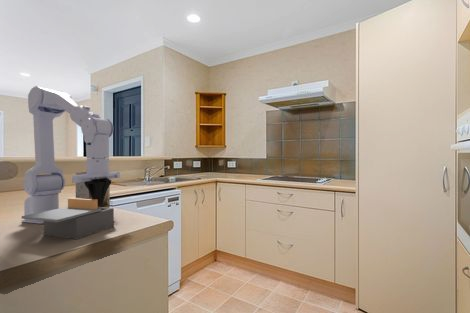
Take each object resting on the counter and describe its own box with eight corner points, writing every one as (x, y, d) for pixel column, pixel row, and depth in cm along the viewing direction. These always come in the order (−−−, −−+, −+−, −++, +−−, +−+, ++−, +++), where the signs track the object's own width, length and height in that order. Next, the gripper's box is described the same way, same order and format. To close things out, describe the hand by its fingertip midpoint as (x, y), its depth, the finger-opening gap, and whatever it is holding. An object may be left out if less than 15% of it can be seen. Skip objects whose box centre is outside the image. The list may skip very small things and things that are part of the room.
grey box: (43, 235, 63) (43, 215, 63) (84, 223, 75) (83, 206, 75) (76, 239, 60) (76, 218, 60) (113, 226, 71) (113, 208, 71)
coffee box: (90, 220, 77) (90, 172, 77) (74, 219, 79) (74, 172, 79) (110, 214, 86) (110, 171, 86) (95, 213, 88) (95, 170, 88)
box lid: (21, 218, 58) (21, 206, 58) (69, 208, 70) (69, 197, 70) (57, 222, 55) (57, 208, 55) (101, 210, 67) (101, 199, 67)
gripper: (86, 158, 60) (86, 211, 60) (127, 158, 74) (127, 200, 74) (66, 159, 62) (66, 209, 62) (109, 158, 76) (110, 199, 76)
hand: (98, 204), depth 68 cm, fingers closed
